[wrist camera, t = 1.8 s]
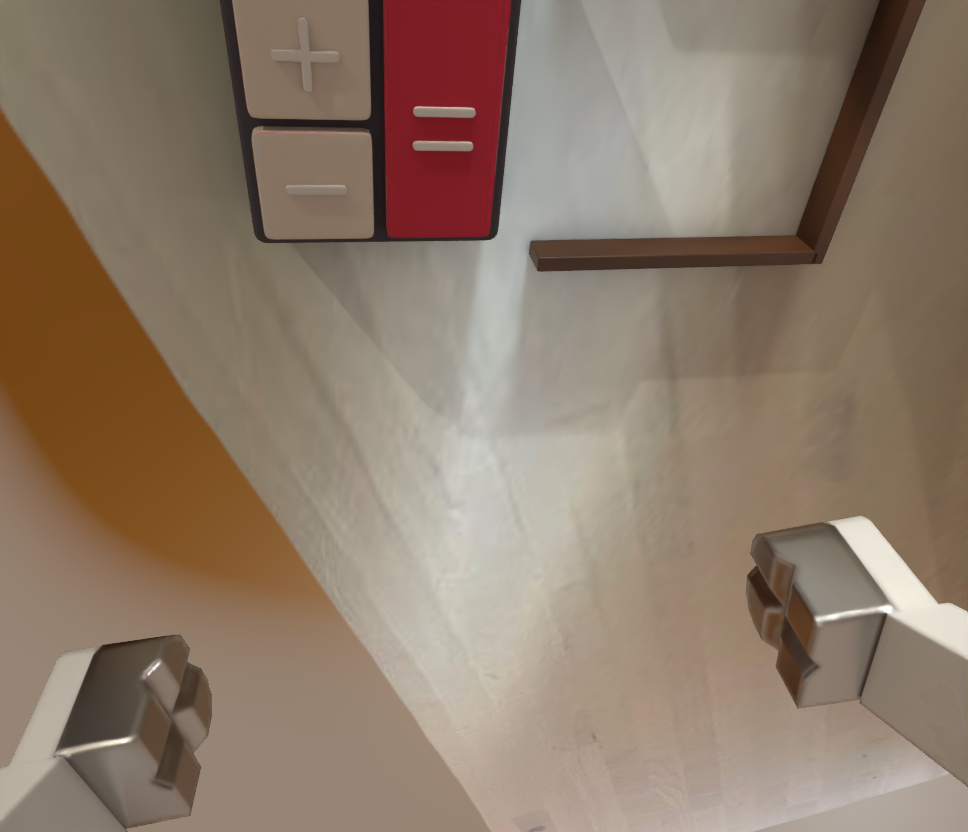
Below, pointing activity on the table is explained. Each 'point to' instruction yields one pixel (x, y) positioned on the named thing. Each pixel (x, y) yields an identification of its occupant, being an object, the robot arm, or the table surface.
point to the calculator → (372, 116)
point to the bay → (825, 201)
